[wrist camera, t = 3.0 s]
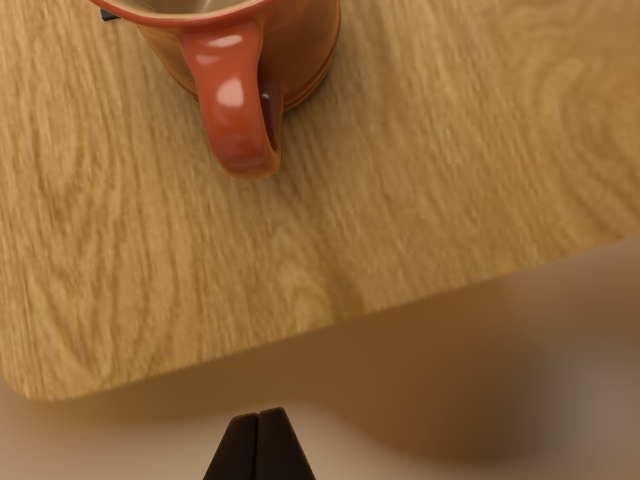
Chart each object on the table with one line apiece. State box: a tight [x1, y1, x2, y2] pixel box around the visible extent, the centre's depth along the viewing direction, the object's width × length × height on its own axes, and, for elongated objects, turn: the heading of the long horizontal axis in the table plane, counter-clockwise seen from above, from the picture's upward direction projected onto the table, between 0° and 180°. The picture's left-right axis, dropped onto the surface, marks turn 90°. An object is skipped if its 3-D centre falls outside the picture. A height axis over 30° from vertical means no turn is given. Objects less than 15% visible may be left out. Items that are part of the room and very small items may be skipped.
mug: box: [89, 0, 341, 181], centre depth 19 cm, size 12×9×10 cm
